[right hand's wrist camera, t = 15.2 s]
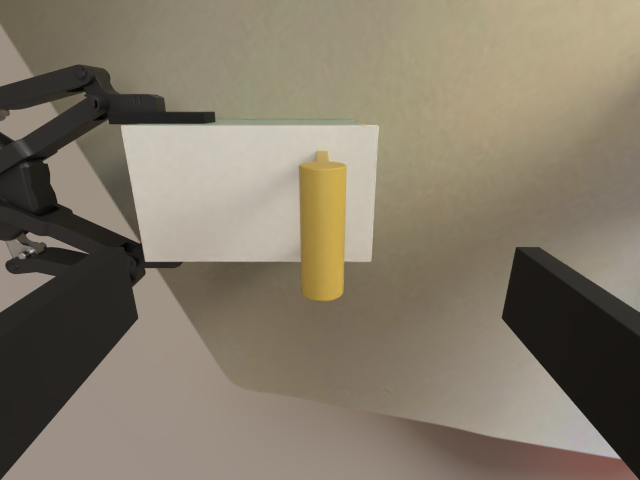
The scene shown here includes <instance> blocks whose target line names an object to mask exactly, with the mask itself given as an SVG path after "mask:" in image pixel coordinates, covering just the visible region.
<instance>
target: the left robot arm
mask: <svg viewBox="0 0 640 480" xmlns="http://www.w3.org/2000/svg"><path fill="white" fill-rule="evenodd" d="M82 92H86V94H85V95H84V96H85V97H87V98H86V99H84V100H83V101H81V102H79V103H78V104H76V105H75V106H73V107H71V108H70V109H68V110H67V111H65V112H64V113H62V114H60V115H59V116H57V117H56V118H54V119H53V120H51V121H49V122H48V123H46V124H45V125H43V126H41V127H40V128H38V129H37V130H35V131H33V132H32V133H30V134H29V135H27V136H26V137H24V138H22V139H20V140H17V141H14V140H12V139H10V138H9V137H7V136H6V135H4V134H2V133H1V132H0V240H3V241H6V244H7V246H8V248H9V250H10V253H11V255H12V257H13V259H11V260H9V261H7V262H6V265H5V266H6V269H7V270H8V271H9V272H10V273H13V274H22V273H31V272H39V273H44V274H48V275H53V276H57V275H59V274H60V273H62V272H64V271H65V270H67V269H68V268H70V267H71V266H73V265H74V264H76V263H77V262H79V261H81V260H82V259H84V258H85V257H87V256H88V255H90V254H91V253H93V252H94V251H96V250H97V249H99V248H101V247H124V250H125V255H126V260H127V265H128V270H129V275H130V280H131V285H132V287H133V286H134V285H135V284H136V283H137V282H138V281H139V280H140V279H141V278H142V277H143V276H144V275H145V273H146V272H145V269H144V268H175V267H178V266H180V265H181V264H182V263H183V262H145V258H144V252H143V247H142V243H140V244H139V243H137V242H135V241H133V240H130V239H128V238H126V237H124V236H121V235H119V234H117V233H115V232H112V231H110V230H108V229H106V228H103V227H101V226H99V225H97V224H95V223H92V222H90V221H88V220H86V219H83V218H81V217H79V216H77V215H74V214H73V213H72V210H71V209H69V208H66V207H64V206H62V205H60V204H58V203H57V199H56V195H55V192H54V190H53V188H52V186H51V185H50V171H49V167H48V164H44V163H43V161H44V160H45V159H47V158H49V157H50V156H52V155H54V154H55V153H57V150H59V149H60V148H62V147H64V146H65V145H67V144H69V143H70V142H72V141H73V140H75V139H77V138H78V137H80V136H82V135H83V134H85V133H87V132H88V131H90V130H91V129H93V128H95V127H96V126H98V125H100V124H101V123H103V122H105V121H106V120H108V119H109V124H207V123H213V122H215V112H166V110H165V103H164V98H163V97H160V96H158V95H150V94H119V93H117V92H116V91H115V90H114V89H113V87H112V85H111V84H110V75H109V73H108V72H107V71H106V70H105V69H102V68H98V67H92V66H86V65H75V66H71V67H68V68H64V69H61V70H57V71H54V72H50V73H47V74H43V75H40V76H36V77H32V78H29V79H26V80H22V81H19V82H15V83H11V84H8V85H4V86H1V87H0V121H2V120H4V119H5V118H6V116H9V114H10V112H9V110H17V109H24V108H28V107H32V106H35V105H39V104H43V103H46V102H50V101H54V100H57V99H61V98H64V97H68V96H72V95H75V94H79V93H82ZM28 232H31V233H33V234H36V235H39V236H50V237H52V238H55V239H57V240H59V241H61V242H64V243H66V244H68V245H71V246H73V247H75V248H78V249H80V250H82V251H85V252H87V253H89V254H86V253H81V252H76V251H72V250H67V249H62V248H55V247H47V246H46V244H45V243H43V242H42V243H38V242H32V241H30V240H29V239H28V238H27V237H26V234H27V233H28Z"/></svg>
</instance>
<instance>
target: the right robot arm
mask: <svg viewBox="0 0 640 480" xmlns="http://www.w3.org/2000/svg"><path fill="white" fill-rule="evenodd" d="M137 319H138V314H137V309H136V305H135V300H134V295H133V290H132V285H131V280H130V275H129V270H128V265H127V260H126V255H125V250H124V247H101V248H99V249H97V250H96V251H94V252H93V253H91V254H90V255H88V256H87V257H85V258H84V259H82V260H81V261H79V262H77V263H76V264H74V265H73V266H71V267H70V268H68V269H67V270H65V271H64V272H62V273H60V274H59V275H57V276H56V277H54V278H53V279H51V280H50V281H48V282H47V283H45V284H44V285H42V286H40V287H39V288H37V289H36V290H34V291H33V292H31V293H30V294H28V295H27V296H25V297H24V298H22V299H21V300H19V301H17V302H16V303H14V304H13V305H11V306H10V307H8V308H7V309H5V310H4V311H2V312H1V313H0V480H1V479H2V478H3V476H4V475H5V474H6V473H7V472H8V471H9V469H10V468H11V467H12V466H13V465H14V463H15V462H16V461H17V460H18V459H19V458H20V456H21V455H22V454H23V453H24V452H25V451H26V449H27V448H28V447H29V446H30V445H31V444H32V442H33V441H34V440H35V439H36V438H37V436H38V435H39V434H40V433H41V432H42V431H43V429H44V428H45V427H46V426H47V425H48V424H49V422H50V421H51V420H52V419H53V418H54V417H55V415H56V414H57V413H58V412H59V411H60V409H61V408H62V407H63V406H64V405H65V404H66V402H67V401H68V400H69V399H70V398H71V397H72V395H73V394H74V393H75V392H76V391H77V389H78V388H79V387H80V386H81V385H82V384H83V382H84V381H85V380H86V379H87V378H88V377H89V375H90V374H91V373H92V372H93V371H94V370H95V368H96V367H97V366H98V365H99V364H100V362H101V361H102V360H103V359H104V358H105V357H106V355H107V354H108V353H109V352H110V351H111V350H112V348H113V347H114V346H115V345H116V344H117V343H118V341H119V340H120V339H121V338H122V337H123V336H124V334H125V333H126V332H127V331H128V330H129V329H130V327H131V326H132V325H133V324H134V323H135V321H136V320H137ZM502 319H503V320H504V321H505V323H506V324H507V325H508V326H509V327H510V329H511V330H512V331H513V332H514V333H515V334H516V336H517V337H518V338H519V339H520V340H521V341H522V343H523V344H524V345H525V346H526V347H527V348H528V350H529V351H530V352H531V353H532V354H533V355H534V357H535V358H536V359H537V360H538V361H539V363H540V364H541V365H542V366H543V367H544V368H545V370H546V371H547V372H548V373H549V374H550V375H551V377H552V378H553V379H554V380H555V381H556V382H557V384H558V385H559V386H560V387H561V388H562V390H563V391H564V392H565V393H566V394H567V395H568V397H569V398H570V399H571V400H572V401H573V402H574V404H575V405H576V406H577V407H578V408H579V409H580V411H581V412H582V413H583V414H584V415H585V417H586V418H587V419H588V420H589V421H590V422H591V424H592V425H593V426H594V427H595V428H596V429H597V431H598V432H599V433H600V434H601V435H602V436H603V438H604V439H605V440H606V441H607V442H608V444H609V445H610V446H611V447H612V448H613V449H614V451H615V452H616V453H617V454H618V455H619V456H620V458H621V459H622V460H623V461H624V462H625V463H626V465H627V466H628V467H629V468H630V469H631V470H632V472H633V473H634V474H635V475H636V476H637V477H638V479H639V480H640V312H638V311H636V310H635V309H633V308H632V307H630V306H629V305H627V304H626V303H624V302H623V301H621V300H620V299H618V298H616V297H615V296H613V295H612V294H610V293H609V292H607V291H606V290H604V289H603V288H601V287H600V286H598V285H596V284H595V283H593V282H592V281H590V280H589V279H587V278H586V277H584V276H583V275H581V274H580V273H578V272H576V271H575V270H573V269H572V268H570V267H569V266H567V265H566V264H564V263H563V262H561V261H559V260H558V259H556V258H555V257H553V256H552V255H550V254H549V253H547V252H546V251H544V250H543V249H541V248H539V247H516V250H515V255H514V260H513V265H512V270H511V275H510V280H509V285H508V290H507V295H506V300H505V304H504V309H503V314H502Z"/></svg>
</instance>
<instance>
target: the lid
mask: <svg viewBox="0 0 640 480" xmlns="http://www.w3.org/2000/svg"><path fill="white" fill-rule="evenodd" d="M378 129H379V126H377V125H123V126H121V131H122V137H123V142H124V148H125V153H126V159H127V164H128V170H129V175H130V181H131V186H132V192H133V197H134V203H135V208H136V214H137V219H138V225H139V230H140V236H141V241H142V247H143V252H144V258H145V262H301V291H302V294H303V295H304V296H305V297H306V298H308V299H311V300H314V301H331V300H334V299H337V298H339V297H340V296H341V295H342V294H343V290H344V262H371V259H372V240H373V222H374V203H375V184H376V166H377V147H378Z"/></svg>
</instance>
